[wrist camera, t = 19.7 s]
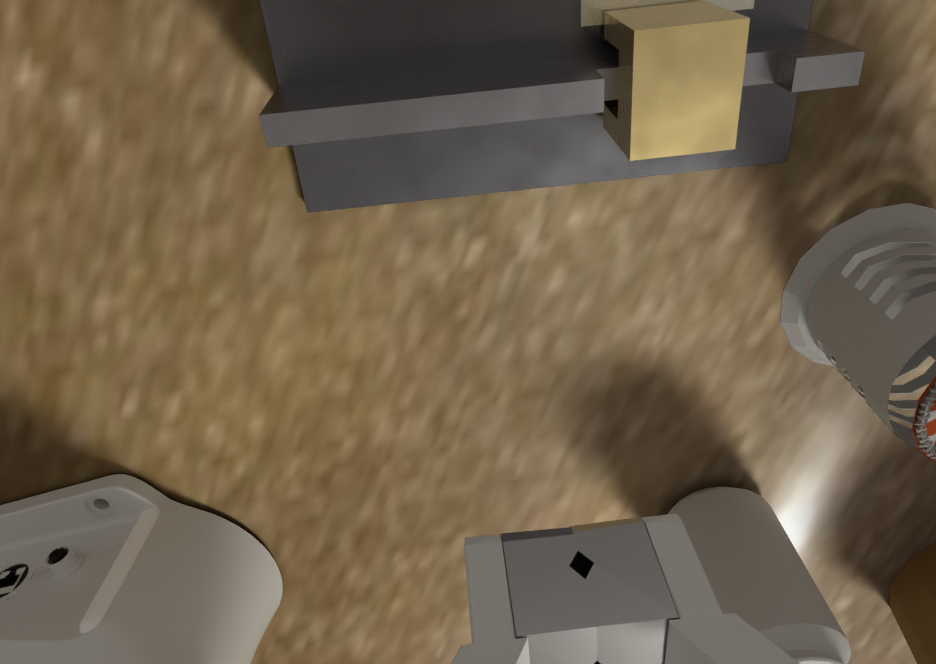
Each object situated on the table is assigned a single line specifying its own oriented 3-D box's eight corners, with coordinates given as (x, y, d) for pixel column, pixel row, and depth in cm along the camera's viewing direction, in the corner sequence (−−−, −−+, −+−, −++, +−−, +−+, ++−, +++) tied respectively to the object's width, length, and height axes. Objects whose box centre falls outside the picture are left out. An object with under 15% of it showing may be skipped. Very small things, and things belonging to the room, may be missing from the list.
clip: (602, 126, 30) (630, 160, 27) (604, 11, 28) (634, 30, 24) (694, 116, 30) (735, 149, 27) (704, 0, 28) (750, 18, 24)
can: (665, 476, 43) (741, 656, 33) (781, 476, 44) (892, 653, 34) (641, 559, 47) (704, 742, 37) (749, 558, 48) (839, 737, 38)
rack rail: (308, 207, 33) (293, 255, 28) (255, -35, 27) (226, -21, 23) (781, 157, 33) (835, 196, 28) (819, -94, 27) (894, -90, 23)
